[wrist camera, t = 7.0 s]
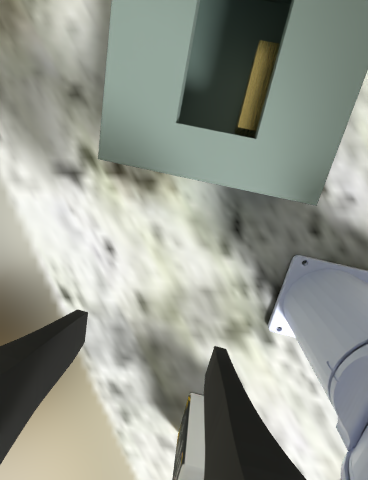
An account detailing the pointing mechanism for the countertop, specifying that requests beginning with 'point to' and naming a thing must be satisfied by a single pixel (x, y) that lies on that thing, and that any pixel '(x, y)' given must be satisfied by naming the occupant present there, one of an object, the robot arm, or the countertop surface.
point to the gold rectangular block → (256, 88)
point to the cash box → (232, 90)
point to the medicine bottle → (191, 441)
